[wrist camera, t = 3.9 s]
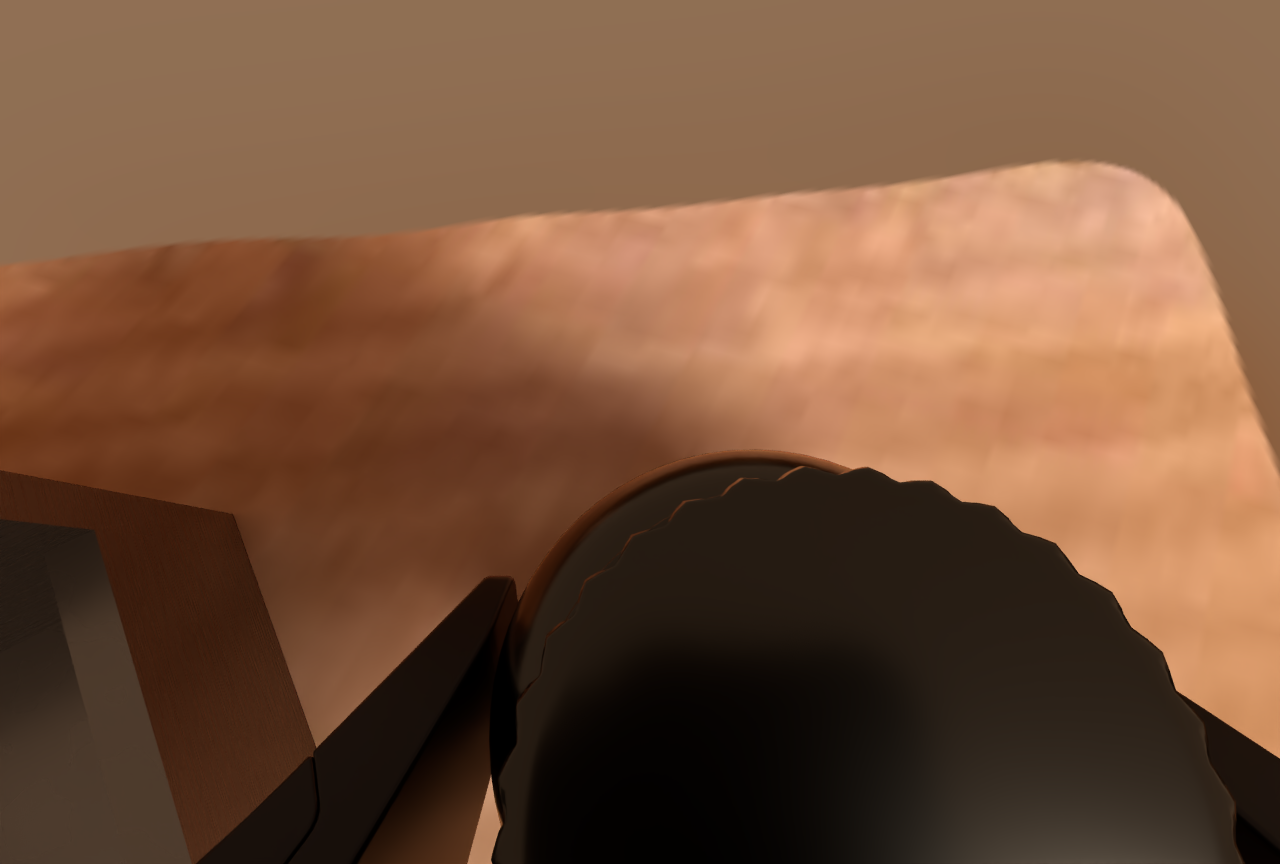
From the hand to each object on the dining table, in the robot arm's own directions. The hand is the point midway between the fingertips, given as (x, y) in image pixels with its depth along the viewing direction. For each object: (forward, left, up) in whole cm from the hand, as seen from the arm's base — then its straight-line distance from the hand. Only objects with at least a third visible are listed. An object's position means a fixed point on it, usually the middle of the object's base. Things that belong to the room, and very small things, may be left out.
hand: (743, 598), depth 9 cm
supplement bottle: (-1, +1, -7) cm, 7 cm away
